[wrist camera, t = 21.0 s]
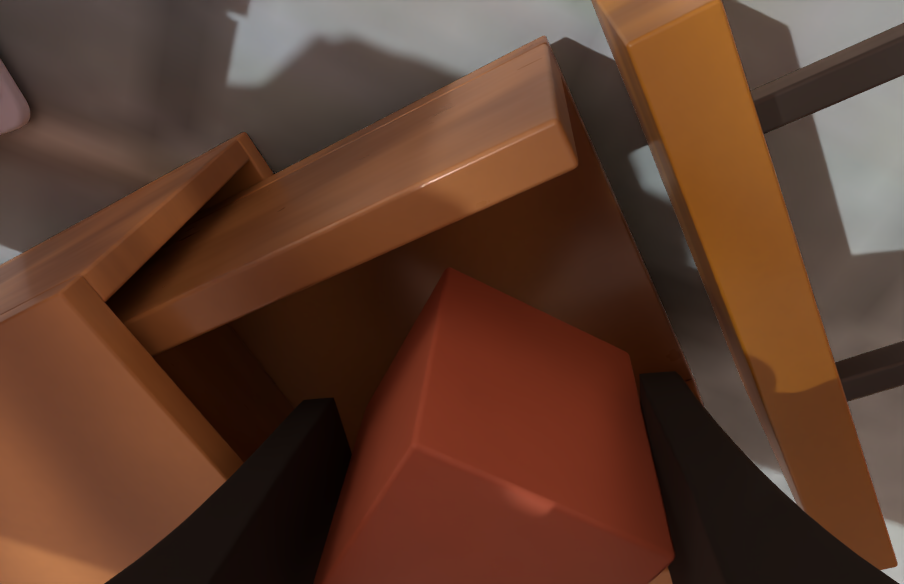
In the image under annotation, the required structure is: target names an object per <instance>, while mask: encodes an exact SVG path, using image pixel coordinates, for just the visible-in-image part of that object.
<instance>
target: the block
mask: <svg viewBox="0 0 904 584" xmlns="http://www.w3.org/2000/svg"><path fill="white" fill-rule="evenodd" d="M675 555H676V554H675V550H674V545H673V541H672V537H671V533H670V528H669V524H668V520H667V515H666V511H665V507H664V502H663V498H662V494H661V489H660V485H659V481H658V477H657V472H656V468H655V464H654V459H653V455H652V451H651V446H650V442H649V438H648V433H647V429H646V425H645V421H644V416H643V412H642V408H641V403H640V399H639V395H638V390H637V386H636V382H635V377H634V373H633V369H632V365H631V360H630V356H629V354H628V353H627V352H625V351H623V350H621V349H619V348H617V347H615V346H613V345H611V344H609V343H607V342H605V341H603V340H600V339H598V338H596V337H594V336H592V335H590V334H588V333H586V332H584V331H582V330H580V329H578V328H576V327H573V326H571V325H569V324H567V323H565V322H563V321H561V320H559V319H557V318H555V317H553V316H551V315H549V314H546V313H544V312H542V311H540V310H538V309H536V308H534V307H532V306H530V305H528V304H526V303H524V302H522V301H519V300H517V299H515V298H513V297H511V296H509V295H507V294H505V293H503V292H501V291H499V290H497V289H495V288H493V287H490V286H488V285H486V284H484V283H482V282H480V281H478V280H476V279H474V278H472V277H470V276H468V275H466V274H463V273H461V272H459V271H457V270H455V269H453V268H451V267H448V268H447V269H445V271H444V272H443V274H442V276H441V278H440V279H439V281H438V283H437V285H436V286H435V288H434V290H433V292H432V293H431V295H430V297H429V299H428V300H427V302H426V304H425V306H424V307H423V309H422V311H421V313H420V314H419V316H418V318H417V320H416V321H415V323H414V325H413V326H412V328H411V330H410V332H409V333H408V335H407V337H406V339H405V340H404V342H403V344H402V346H401V347H400V349H399V351H398V353H397V354H396V356H395V358H394V360H393V361H392V363H391V365H390V367H389V368H388V370H387V372H386V374H385V375H384V377H383V379H382V381H381V382H380V384H379V386H378V388H377V389H376V391H375V393H374V395H373V396H372V398H371V400H370V402H369V403H368V405H367V407H366V409H365V413H364V416H363V419H362V423H361V426H360V429H359V433H358V436H357V439H356V443H355V446H354V449H353V453H352V456H351V459H350V463H349V466H348V469H347V473H346V476H345V479H344V483H343V486H342V489H341V493H340V496H339V499H338V503H337V506H336V509H335V513H334V516H333V519H332V523H331V526H330V529H329V533H328V536H327V539H326V543H325V546H324V549H323V553H322V556H321V559H320V563H319V566H318V569H317V573H316V576H315V579H314V583H313V584H649V583H650V582H651V581H652V580H653V579H655V578H656V577H657V576H658V575H659V574H660V573H661V572H662V571H663V570H664V569H665V568H666V567H668V566H669V565H670V564H671V563H672V562H673V561H674V559H675Z"/></svg>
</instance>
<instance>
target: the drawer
mask: <svg viewBox="0 0 904 584" xmlns="http://www.w3.org/2000/svg"><path fill="white" fill-rule="evenodd" d="M591 1H592V4H593V6H594V9H595V11H596V14H597V16H598V19H599V21H600V24H601V26H602V29H603V31H604V34H605V37H606V39H607V42H608V44H609V47H610V49H611V52H612V54H613V57H614V59H615V62H616V64H617V67H618V69H619V72H620V75H621V77H622V80H623V82H624V85H625V87H626V90H627V92H628V95H629V97H630V100H631V102H632V105H633V107H634V110H635V112H636V115H637V118H638V120H639V123H640V125H641V128H642V130H643V133H644V135H645V138H646V140H647V143H648V145H649V148H650V150H651V153H652V156H653V158H654V161H655V163H656V166H657V168H658V171H659V173H660V176H661V178H662V181H663V183H664V186H665V188H666V191H667V194H668V196H669V199H670V201H671V204H672V206H673V209H674V211H675V214H676V216H677V219H678V221H679V224H680V226H681V229H682V231H683V234H684V237H685V239H686V242H687V244H688V247H689V249H690V252H691V254H692V257H693V259H694V262H695V264H696V267H697V269H698V272H699V275H700V277H701V280H702V282H703V285H704V287H705V290H706V292H707V295H708V297H709V300H710V302H711V305H712V307H713V310H714V312H715V315H716V318H717V320H718V323H719V325H720V328H721V330H722V333H723V335H724V338H725V340H726V343H727V345H728V348H729V350H730V353H731V356H732V358H733V361H734V363H735V366H736V368H737V371H738V373H739V376H740V378H741V380H742V383H743V385H744V387H745V389H746V392H747V394H748V396H749V398H750V401H751V403H752V405H753V407H754V409H755V412H756V414H757V416H758V418H759V421H760V423H761V425H762V427H763V430H764V432H765V434H766V436H767V439H768V441H769V443H770V445H771V448H772V450H773V452H774V454H775V456H776V459H777V461H778V463H779V465H780V468H781V470H782V472H783V474H784V477H785V479H786V481H787V483H788V486H789V488H790V490H791V492H792V495H793V497H794V499H795V501H796V503H797V505H798V506H799V507H800V508H801V509H802V510H803V511H804V512H806V513H807V514H808V515H809V516H810V517H812V518H813V519H814V520H815V521H816V522H818V523H819V524H820V525H821V526H822V527H823V528H825V529H826V530H827V531H828V532H830V533H831V534H832V535H833V536H835V537H836V538H837V539H838V540H840V541H841V542H842V543H844V544H845V545H846V546H847V547H849V548H850V549H851V550H852V551H854V552H855V553H856V554H858V555H859V556H860V557H862V558H863V559H865V560H866V561H868V562H869V563H870V564H872V565H873V566H875V567H876V568H877V569H879V570H883V569H888V568H892V567H896V566H897V560H896V556H895V553H894V550H893V547H892V544H891V540H890V537H889V534H888V531H887V528H886V524H885V521H884V518H883V515H882V512H881V508H880V505H879V502H878V499H877V496H876V492H875V489H874V486H873V483H872V480H871V476H870V473H869V470H868V467H867V464H866V460H865V457H864V454H863V451H862V448H861V444H860V441H859V438H858V435H857V432H856V428H855V425H854V422H853V419H852V416H851V412H850V409H849V406H848V403H847V402H848V401H852V400H855V399H858V398H862V397H865V396H868V395H872V394H875V393H879V392H882V391H885V390H889V389H892V388H896V387H899V386H902V385H904V341H902V342H899V343H895V344H892V345H889V346H886V347H883V348H879V349H876V350H873V351H870V352H867V353H863V354H860V355H857V356H854V357H851V358H847V359H844V360H841V361H838V362H835V361H834V358H833V355H832V352H831V348H830V345H829V342H828V339H827V336H826V332H825V329H824V326H823V323H822V320H821V316H820V313H819V310H818V307H817V304H816V300H815V297H814V294H813V291H812V288H811V284H810V281H809V278H808V275H807V271H806V268H805V265H804V262H803V259H802V255H801V252H800V249H799V246H798V243H797V239H796V236H795V233H794V230H793V227H792V223H791V220H790V217H789V214H788V211H787V207H786V204H785V201H784V198H783V195H782V191H781V188H780V185H779V182H778V179H777V175H776V172H775V169H774V166H773V163H772V159H771V156H770V153H769V150H768V147H767V143H766V140H765V137H764V134H765V133H768V132H770V131H772V130H775V129H777V128H779V127H782V126H784V125H786V124H789V123H791V122H794V121H796V120H798V119H801V118H803V117H805V116H808V115H810V114H812V113H815V112H817V111H820V110H822V109H824V108H827V107H829V106H831V105H834V104H836V103H838V102H841V101H843V100H846V99H848V98H850V97H853V96H855V95H857V94H860V93H862V92H864V91H867V90H869V89H872V88H874V87H876V86H879V85H881V84H883V83H886V82H888V81H890V80H893V79H895V78H898V77H900V76H902V75H904V23H902V24H900V25H898V26H896V27H893V28H891V29H889V30H887V31H884V32H882V33H880V34H878V35H875V36H873V37H871V38H869V39H866V40H864V41H862V42H860V43H857V44H855V45H853V46H851V47H848V48H846V49H844V50H842V51H839V52H837V53H835V54H833V55H830V56H828V57H826V58H824V59H821V60H819V61H817V62H815V63H812V64H810V65H808V66H806V67H803V68H801V69H799V70H797V71H794V72H792V73H790V74H788V75H785V76H783V77H781V78H779V79H776V80H774V81H772V82H770V83H767V84H765V85H763V86H761V87H758V88H756V89H754V90H752V91H750V89H749V86H748V83H747V79H746V76H745V73H744V70H743V67H742V63H741V60H740V57H739V54H738V51H737V47H736V44H735V41H734V38H733V35H732V31H731V28H730V25H729V22H728V19H727V15H726V12H725V9H724V6H723V3H722V1H721V0H591ZM448 267H451V268H453V269H455V270H457V271H459V272H461V273H463V274H466V275H468V276H470V277H472V278H474V279H476V280H478V281H480V282H482V283H484V284H486V285H488V286H490V287H493V288H495V289H497V290H499V291H501V292H503V293H505V294H507V295H509V296H511V297H513V298H515V299H517V300H519V301H522V302H524V303H526V304H528V305H530V306H532V307H534V308H536V309H538V310H540V311H542V312H544V313H546V314H549V315H551V316H553V317H555V318H557V319H559V320H561V321H563V322H565V323H567V324H569V325H571V326H573V327H576V328H578V329H580V330H582V331H584V332H586V333H588V334H590V335H592V336H594V337H596V338H598V339H600V340H603V341H605V342H607V343H609V344H611V345H613V346H615V347H617V348H619V349H621V350H623V351H625V352H627V353H628V354H629V356H630V360H631V365H632V369H633V373H634V377H635V382H636V386H637V390H638V395H639V399H640V379H639V374H643V373H656V372H669V371H675V372H677V373H678V374H679V375H680V376H681V377H682V378H683V380H684V381H685V382H686V384H687V385H688V387H689V388H690V389H691V391H692V392H693V394H694V395H695V396H696V398H697V399H698V400H699V401H700V403H701V404H702V405H703V407H704V404H703V401H702V399H701V395H700V393H699V390H698V387H697V384H696V381H695V379H694V377H693V374H692V372H691V370H690V367H689V365H688V363H687V360H686V358H685V356H684V354H683V351H682V349H681V347H680V344H679V342H678V340H677V337H676V335H675V333H674V330H673V328H672V326H671V324H670V321H669V319H668V317H667V314H666V312H665V310H664V307H663V305H662V303H661V300H660V298H659V296H658V294H657V291H656V289H655V287H654V284H653V282H652V280H651V277H650V275H649V273H648V270H647V268H646V266H645V264H644V261H643V259H642V257H641V254H640V252H639V250H638V247H637V245H636V243H635V240H634V238H633V236H632V234H631V231H630V229H629V227H628V224H627V222H626V220H625V217H624V215H623V213H622V210H621V208H620V206H619V204H618V201H617V199H616V197H615V194H614V192H613V190H612V187H611V185H610V183H609V180H608V178H607V176H606V174H605V171H604V169H603V167H602V164H601V162H600V160H599V157H598V155H597V153H596V150H595V148H594V146H593V144H592V141H591V139H590V137H589V134H588V132H587V130H586V127H585V125H584V123H583V121H582V118H581V116H580V114H579V111H578V109H577V107H576V104H575V102H574V100H573V97H572V95H571V93H570V91H569V88H568V86H567V84H566V81H565V79H564V77H563V74H562V72H561V70H560V67H559V65H558V63H557V61H556V58H555V56H554V54H553V51H552V49H551V47H550V44H549V42H548V40H547V37H546V36H541V37H539V38H538V39H536V40H534V41H532V42H530V43H528V44H526V45H524V46H522V47H520V48H518V49H516V50H514V51H512V52H510V53H508V54H507V55H505V56H503V57H501V58H499V59H497V60H495V61H493V62H491V63H489V64H487V65H485V66H483V67H481V68H479V69H477V70H476V71H474V72H472V73H470V74H468V75H466V76H464V77H462V78H460V79H458V80H456V81H454V82H452V83H450V84H448V85H446V86H445V87H443V88H441V89H439V90H437V91H435V92H433V93H431V94H429V95H427V96H425V97H423V98H421V99H419V100H417V101H415V102H414V103H412V104H410V105H408V106H406V107H404V108H402V109H400V110H398V111H396V112H394V113H392V114H390V115H388V116H386V117H384V118H383V119H381V120H379V121H377V122H375V123H373V124H371V125H369V126H367V127H365V128H363V129H361V130H359V131H357V132H355V133H353V134H351V135H350V136H348V137H346V138H344V139H342V140H340V141H338V142H336V143H334V144H332V145H330V146H328V147H326V148H324V149H322V150H320V151H319V152H317V153H315V154H313V155H311V156H309V157H307V158H305V159H303V160H301V161H299V162H297V163H295V164H293V165H291V166H289V167H288V168H286V169H284V170H282V171H280V172H278V173H276V174H274V175H272V176H270V177H268V178H266V179H264V180H262V181H260V182H258V183H257V184H255V185H253V186H251V187H249V188H247V189H245V190H243V191H241V192H239V193H237V194H235V195H233V196H231V197H229V198H227V199H226V200H224V201H222V202H220V203H218V204H216V205H214V206H212V207H210V208H208V209H206V210H204V211H202V212H200V213H198V214H196V215H195V216H193V217H191V218H190V219H189V220H188V221H187V222H186V223H185V224H184V225H183V226H182V227H181V228H180V229H179V230H178V231H177V232H176V233H175V234H174V235H173V236H172V237H171V238H170V239H169V240H168V241H167V242H166V243H165V244H164V245H163V246H162V247H161V248H160V249H159V250H158V251H157V252H156V253H155V254H154V255H153V256H152V257H151V258H150V259H149V260H148V261H147V262H146V263H145V264H144V265H143V266H142V267H141V268H140V269H139V270H138V271H137V272H136V273H135V274H134V275H133V276H132V277H131V278H130V279H129V280H128V281H127V282H126V283H125V284H124V285H123V286H122V287H121V288H120V289H119V290H118V291H117V292H116V293H115V294H114V295H113V296H112V297H110V298H109V299H108V300H107V301H106V302H105V303H106V304H107V305H108V307H109V308H110V309H111V310H112V311H113V312H114V314H115V315H116V316H117V317H118V318H119V319H120V320H121V322H122V323H123V324H124V325H125V326H126V327H127V328H128V330H129V331H130V332H131V333H132V334H133V335H134V337H135V338H136V339H137V340H138V341H139V342H140V343H141V345H142V346H143V347H144V348H145V349H146V350H147V352H148V353H149V354H150V355H151V356H152V357H153V358H154V360H155V361H156V362H157V363H158V364H159V365H160V366H161V368H162V369H163V370H164V371H165V372H166V373H167V375H168V376H169V377H170V378H171V379H172V380H173V381H174V383H175V384H176V385H177V386H178V387H179V388H180V390H181V391H182V392H183V393H184V394H185V395H186V396H187V398H188V399H189V400H190V401H191V402H192V403H193V404H194V406H195V407H196V408H197V409H198V410H199V411H200V413H201V414H202V415H203V416H204V417H205V418H206V419H207V421H208V422H209V423H210V424H211V425H212V426H213V427H214V429H215V430H216V431H217V432H218V433H219V434H220V436H221V437H222V438H223V439H224V440H225V441H226V442H227V444H228V445H229V446H230V447H231V448H232V449H233V451H234V452H235V453H236V454H237V455H238V456H239V457H240V459H241V460H242V461H243V462H245V461H246V460H247V459H248V458H249V457H250V456H251V455H252V454H253V453H254V452H255V451H256V450H257V449H258V448H259V447H260V445H261V444H262V443H263V442H264V441H265V440H266V439H267V438H268V437H269V436H270V435H271V434H272V433H273V432H274V430H275V429H276V428H277V427H278V426H279V425H280V424H281V423H282V422H283V421H284V420H285V419H286V417H287V416H288V415H289V414H290V413H291V412H292V411H293V410H294V409H295V408H296V407H297V406H298V405H299V404H300V403H301V402H302V401H303V400H307V399H319V398H332V397H334V400H335V403H336V406H337V409H338V412H339V415H340V418H341V422H342V425H343V428H344V431H345V434H346V437H347V440H348V443H349V447H350V450H351V453H353V449H354V446H355V443H356V439H357V436H358V433H359V429H360V426H361V423H362V419H363V416H364V413H365V409H366V407H367V405H368V403H369V402H370V400H371V398H372V396H373V395H374V393H375V391H376V389H377V388H378V386H379V384H380V382H381V381H382V379H383V377H384V375H385V374H386V372H387V370H388V368H389V367H390V365H391V363H392V361H393V360H394V358H395V356H396V354H397V353H398V351H399V349H400V347H401V346H402V344H403V342H404V340H405V339H406V337H407V335H408V333H409V332H410V330H411V328H412V326H413V325H414V323H415V321H416V320H417V318H418V316H419V314H420V313H421V311H422V309H423V307H424V306H425V304H426V302H427V300H428V299H429V297H430V295H431V293H432V292H433V290H434V288H435V286H436V285H437V283H438V281H439V279H440V278H441V276H442V274H443V272H444V271H445V269H447V268H448ZM704 408H705V407H704ZM649 584H673V583H672V580H671V576H670V573H669V569H668V567H666V568H665V569H664V570H663V571H662V572H661V573H660V574H659V575H658V576H657V577H656V578H655V579H653V580H652V581H651V582H650V583H649Z"/></svg>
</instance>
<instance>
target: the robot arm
mask: <svg viewBox="0 0 904 584" xmlns="http://www.w3.org/2000/svg"><path fill="white" fill-rule="evenodd" d="M29 119H30V108H29V106H28V103H27V101H26V99H25V98H24V96H23V95H22V93H21V91H20V90H19V88H18V86H17V85H16V83H15V82H14V80H13V78H12V77H11V75H10V73H9V72H8V70H7V68H6V67H5V65H4V64H3V62H2V60H1V59H0V135H2V134H5V133H7V132H10V131H13V130H16V129H18V128H20V127H22V126H24V125H25V124H27V123H28V121H29ZM639 379H640V403H641V408H642V412H643V416H644V421H645V425H646V429H647V433H648V438H649V442H650V446H651V451H652V455H653V459H654V464H655V468H656V472H657V477H658V481H659V485H660V489H661V494H662V498H663V502H664V507H665V511H666V515H667V520H668V524H669V528H670V533H671V537H672V541H673V545H674V550H675V554H676V555H675V559H674V561H673V562H672V563H671V564H670V565H669V566H668V569H669V573H670V576H671V580H672V583H673V584H899V583H897V582H896V581H894V580H893V579H892V578H890V577H889V576H887V575H886V574H885V573H883V572H882V571H880V570H879V569H877V568H876V567H875V566H873V565H872V564H870V563H869V562H868V561H866V560H865V559H863V558H862V557H860V556H859V555H858V554H856V553H855V552H854V551H852V550H851V549H850V548H849V547H847V546H846V545H845V544H844V543H842V542H841V541H840V540H838V539H837V538H836V537H835V536H833V535H832V534H831V533H830V532H828V531H827V530H826V529H825V528H823V527H822V526H821V525H820V524H819V523H818V522H816V521H815V520H814V519H813V518H812V517H810V516H809V515H808V514H807V513H806V512H804V511H803V510H802V509H801V508H800V507H799V506H798V505H797V504H795V503H794V502H793V501H792V500H791V499H790V498H789V497H788V496H787V495H786V494H785V493H783V492H782V491H781V490H780V489H779V488H778V487H777V486H776V485H775V484H774V483H773V482H772V481H771V480H770V479H769V478H768V477H767V476H766V475H765V474H764V473H763V472H762V471H761V470H760V469H759V468H758V467H757V466H756V465H755V464H754V463H753V462H752V461H751V460H750V459H749V458H748V457H747V456H746V455H745V454H744V453H743V451H742V450H741V449H740V448H739V447H738V446H737V445H736V444H735V443H734V442H733V440H732V439H731V438H730V437H729V436H728V435H727V434H726V433H725V432H724V431H723V429H722V428H721V427H720V426H719V425H718V424H717V422H716V421H715V420H714V419H713V418H712V416H711V415H710V414H709V413H708V411H707V410H706V409H705V408H704V407H703V405H702V404H701V403H700V401H699V400H698V399H697V398H696V396H695V395H694V394H693V392H692V391H691V389H690V388H689V387H688V385H687V384H686V382H685V381H684V380H683V378H682V377H681V376H680V375H679V374H678V373H677V372H675V371H669V372H656V373H643V374H639ZM351 456H352V453H351V450H350V447H349V443H348V440H347V437H346V434H345V431H344V428H343V425H342V422H341V418H340V415H339V412H338V409H337V406H336V403H335V400H334V397H332V398H319V399H307V400H303V401H302V402H301V403H300V404H299V405H298V406H297V407H296V408H295V409H294V410H293V411H292V412H291V413H290V414H289V415H288V416H287V417H286V419H285V420H284V421H283V422H282V423H281V424H280V425H279V426H278V427H277V428H276V429H275V430H274V432H273V433H272V434H271V435H270V436H269V437H268V438H267V439H266V440H265V441H264V442H263V443H262V444H261V445H260V447H259V448H258V449H257V450H256V451H255V452H254V453H253V454H252V455H251V456H250V457H249V458H248V459H247V460H246V461H245V462H244V463H243V464H242V465H241V466H240V468H239V469H238V470H237V471H236V472H235V473H234V474H233V475H232V476H231V477H230V478H229V479H228V480H227V481H226V482H224V483H223V484H222V485H221V486H220V487H219V488H218V489H217V490H216V491H215V492H214V493H213V494H212V495H211V496H210V497H209V498H208V499H207V500H206V501H205V502H204V503H203V504H202V505H201V506H200V507H199V508H197V509H196V510H195V511H194V512H193V513H192V514H191V515H190V516H189V517H188V518H187V519H186V520H184V521H183V522H182V523H181V524H180V525H179V526H178V527H176V528H175V529H174V530H173V531H172V532H171V533H169V534H168V535H167V536H166V537H165V538H163V539H162V540H161V541H160V542H158V543H157V544H156V545H155V546H154V547H152V548H151V549H150V550H149V551H147V552H146V553H145V554H144V555H142V556H141V557H140V558H139V559H137V560H136V561H135V562H133V563H132V564H131V565H129V566H128V567H126V568H125V569H124V570H122V571H121V572H120V573H118V574H117V575H115V576H114V577H113V578H111V579H110V580H109V581H107V582H106V583H104V584H313V583H314V579H315V576H316V573H317V569H318V566H319V563H320V559H321V556H322V553H323V549H324V546H325V543H326V539H327V536H328V533H329V529H330V526H331V523H332V519H333V516H334V513H335V509H336V506H337V503H338V499H339V496H340V493H341V489H342V486H343V483H344V479H345V476H346V473H347V469H348V466H349V463H350V459H351Z"/></svg>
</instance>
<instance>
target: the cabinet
mask: <svg viewBox="0 0 904 584" xmlns="http://www.w3.org/2000/svg"><path fill="white" fill-rule="evenodd" d="M272 175H274V174H273V172H272V171H271V169H270V168H269V166H268V165H267V163H266V162H265V160H264V159H263V157H262V156H261V154H260V153H259V151H258V150H257V148H256V147H255V145H254V144H253V142H252V141H251V139H250V138H249V136H248V135H247V133H245V132H242V133H240V134H238V135H237V136H235V137H233V138H231V139H229V140H228V141H226V142H224V143H222V144H220V145H218V146H217V147H215V148H213V149H211V150H209V151H208V152H206V153H204V154H202V155H200V156H198V157H197V158H195V159H193V160H191V161H189V162H187V163H186V164H184V165H182V166H180V167H178V168H177V169H175V170H173V171H171V172H169V173H167V174H166V175H164V176H162V177H160V178H158V179H157V180H155V181H153V182H151V183H149V184H147V185H146V186H144V187H142V188H140V189H138V190H136V191H135V192H133V193H131V194H129V195H127V196H126V197H124V198H122V199H120V200H118V201H116V202H115V203H113V204H111V205H109V206H107V207H106V208H104V209H102V210H100V211H98V212H96V213H95V214H93V215H91V216H89V217H87V218H85V219H84V220H82V221H80V222H78V223H76V224H75V225H73V226H71V227H69V228H67V229H65V230H64V231H62V232H60V233H58V234H56V235H55V236H53V237H51V238H49V239H47V240H45V241H44V242H42V243H40V244H38V245H36V246H35V247H33V248H31V249H29V250H27V251H25V252H24V253H22V254H20V255H18V256H16V257H14V258H13V259H11V260H9V261H7V262H5V263H4V264H2V265H0V584H104V583H106V582H107V581H109V580H110V579H111V578H113V577H114V576H115V575H117V574H118V573H120V572H121V571H122V570H124V569H125V568H126V567H128V566H129V565H131V564H132V563H133V562H135V561H136V560H137V559H139V558H140V557H141V556H142V555H144V554H145V553H146V552H147V551H149V550H150V549H151V548H152V547H154V546H155V545H156V544H157V543H158V542H160V541H161V540H162V539H163V538H165V537H166V536H167V535H168V534H169V533H171V532H172V531H173V530H174V529H175V528H176V527H178V526H179V525H180V524H181V523H182V522H183V521H184V520H186V519H187V518H188V517H189V516H190V515H191V514H192V513H193V512H194V511H195V510H196V509H197V508H199V507H200V506H201V505H202V504H203V503H204V502H205V501H206V500H207V499H208V498H209V497H210V496H211V495H212V494H213V493H214V492H215V491H216V490H217V489H218V488H219V487H220V486H221V485H222V484H223V483H224V482H226V481H227V480H228V479H229V478H230V477H231V476H232V475H233V474H234V473H235V472H236V471H237V470H238V469H239V468H240V466H241V465H242V464H243V463H244V462H243V461H242V460H241V459H240V457H239V456H238V455H237V454H236V453H235V452H234V451H233V449H232V448H231V447H230V446H229V445H228V444H227V442H226V441H225V440H224V439H223V438H222V437H221V436H220V434H219V433H218V432H217V431H216V430H215V429H214V427H213V426H212V425H211V424H210V423H209V422H208V421H207V419H206V418H205V417H204V416H203V415H202V414H201V413H200V411H199V410H198V409H197V408H196V407H195V406H194V404H193V403H192V402H191V401H190V400H189V399H188V398H187V396H186V395H185V394H184V393H183V392H182V391H181V390H180V388H179V387H178V386H177V385H176V384H175V383H174V381H173V380H172V379H171V378H170V377H169V376H168V375H167V373H166V372H165V371H164V370H163V369H162V368H161V366H160V365H159V364H158V363H157V362H156V361H155V360H154V358H153V357H152V356H151V355H150V354H149V353H148V352H147V350H146V349H145V348H144V347H143V346H142V345H141V343H140V342H139V341H138V340H137V339H136V338H135V337H134V335H133V334H132V333H131V332H130V331H129V330H128V328H127V327H126V326H125V325H124V324H123V323H122V322H121V320H120V319H119V318H118V317H117V316H116V315H115V314H114V312H113V311H112V310H111V309H110V308H109V307H108V305H107V304H106V303H105V302H106V301H107V300H108V299H109V298H110V297H112V296H113V295H114V294H115V293H116V292H117V291H118V290H119V289H120V288H121V287H122V286H123V285H124V284H125V283H126V282H127V281H128V280H129V279H130V278H131V277H132V276H133V275H134V274H135V273H136V272H137V271H138V270H139V269H140V268H141V267H142V266H143V265H144V264H145V263H146V262H147V261H148V260H149V259H150V258H151V257H152V256H153V255H154V254H155V253H156V252H157V251H158V250H159V249H160V248H161V247H162V246H163V245H164V244H165V243H166V242H167V241H168V240H169V239H170V238H171V237H172V236H173V235H174V234H175V233H176V232H177V231H178V230H179V229H180V228H181V227H182V226H183V225H184V224H185V223H186V222H187V221H188V220H189V219H190V218H191V217H193V216H195V215H196V214H198V213H200V212H202V211H204V210H206V209H208V208H210V207H212V206H214V205H216V204H218V203H220V202H222V201H224V200H226V199H227V198H229V197H231V196H233V195H235V194H237V193H239V192H241V191H243V190H245V189H247V188H249V187H251V186H253V185H255V184H257V183H258V182H260V181H262V180H264V179H266V178H268V177H270V176H272Z"/></svg>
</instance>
